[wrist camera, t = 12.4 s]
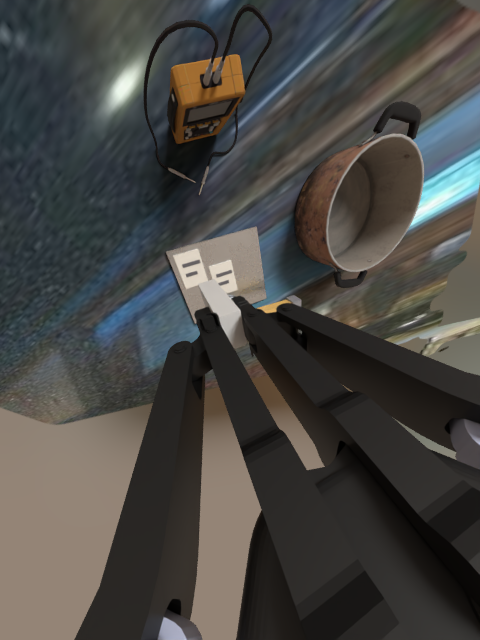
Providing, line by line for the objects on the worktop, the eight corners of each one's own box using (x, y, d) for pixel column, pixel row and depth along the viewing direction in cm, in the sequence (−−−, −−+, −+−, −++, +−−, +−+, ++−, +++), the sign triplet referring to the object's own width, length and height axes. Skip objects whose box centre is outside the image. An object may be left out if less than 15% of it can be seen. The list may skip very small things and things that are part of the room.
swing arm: (231, 327, 41) (235, 334, 39) (228, 311, 39) (232, 318, 37) (293, 309, 45) (300, 314, 42) (294, 293, 42) (301, 298, 40)
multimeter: (173, 203, 33) (181, 193, 17) (144, 126, 28) (114, 1, 11) (248, 181, 36) (320, 153, 19) (235, 105, 30) (319, -25, 14)
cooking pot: (307, 115, 34) (358, 81, 25) (394, 135, 41) (457, 114, 32) (283, 278, 48) (310, 293, 40) (350, 273, 55) (385, 285, 46)
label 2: (217, 296, 43) (217, 296, 43) (208, 266, 40) (208, 267, 39) (237, 289, 44) (237, 290, 44) (230, 260, 41) (231, 260, 40)
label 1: (185, 288, 40) (186, 289, 40) (173, 255, 36) (173, 256, 36) (208, 281, 41) (208, 282, 41) (197, 248, 37) (198, 249, 37)
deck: (196, 325, 46) (200, 341, 40) (165, 251, 36) (165, 258, 31) (265, 300, 50) (278, 312, 44) (255, 226, 40) (270, 228, 34)
